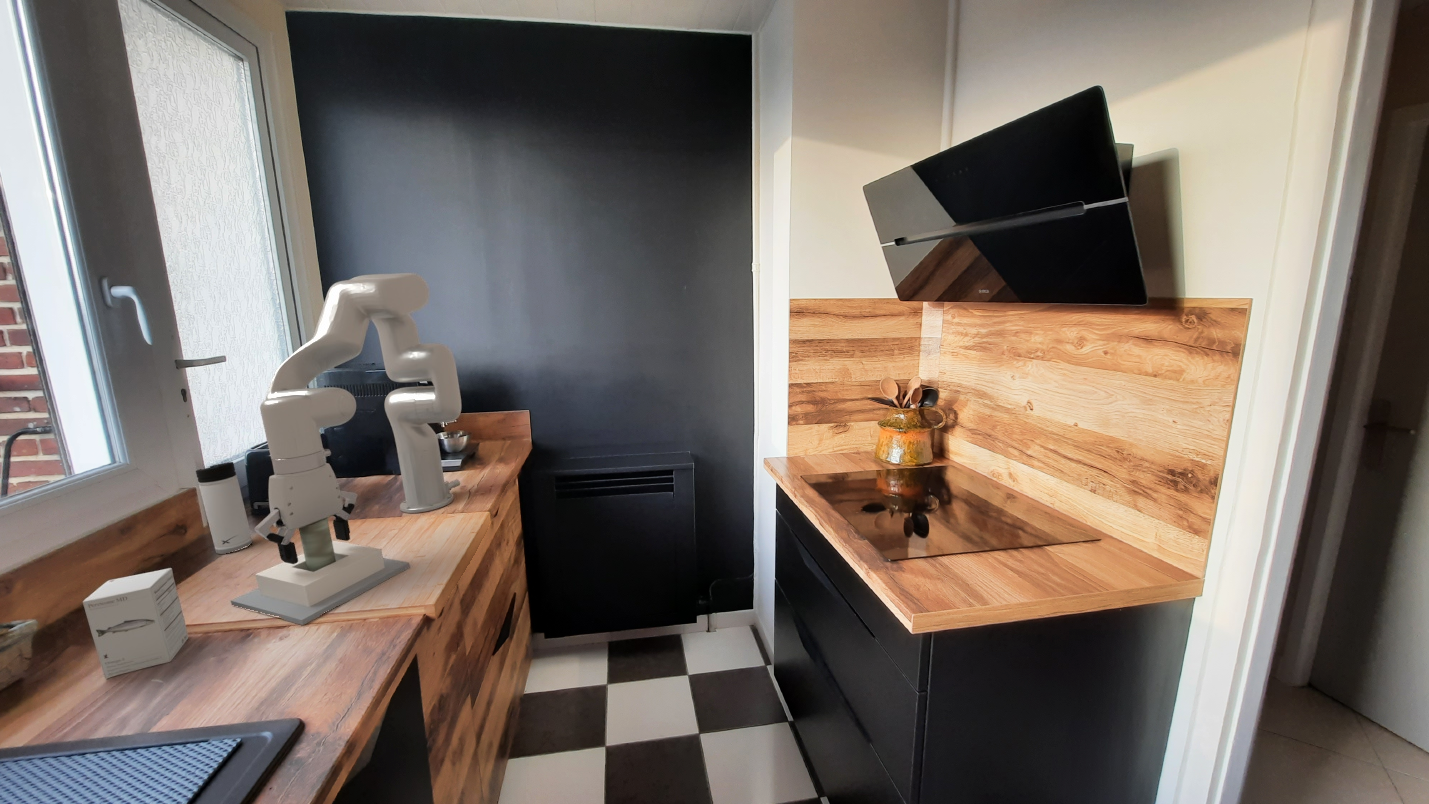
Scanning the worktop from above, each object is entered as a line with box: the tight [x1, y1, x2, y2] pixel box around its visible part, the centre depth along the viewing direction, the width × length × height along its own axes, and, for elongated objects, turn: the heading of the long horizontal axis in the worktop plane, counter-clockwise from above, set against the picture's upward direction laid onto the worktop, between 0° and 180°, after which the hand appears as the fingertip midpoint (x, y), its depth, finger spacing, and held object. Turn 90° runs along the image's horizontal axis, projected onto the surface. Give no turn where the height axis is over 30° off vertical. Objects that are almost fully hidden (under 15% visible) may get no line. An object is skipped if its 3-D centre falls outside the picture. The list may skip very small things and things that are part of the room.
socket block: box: [230, 540, 411, 626], centre depth 100 cm, size 20×20×5 cm
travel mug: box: [195, 461, 253, 555], centre depth 117 cm, size 6×7×20 cm
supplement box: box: [82, 567, 189, 680], centre depth 80 cm, size 7×7×13 cm
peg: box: [298, 518, 336, 572], centre depth 99 cm, size 4×4×12 cm
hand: (318, 550), depth 99 cm, fingers open, 9 cm apart
